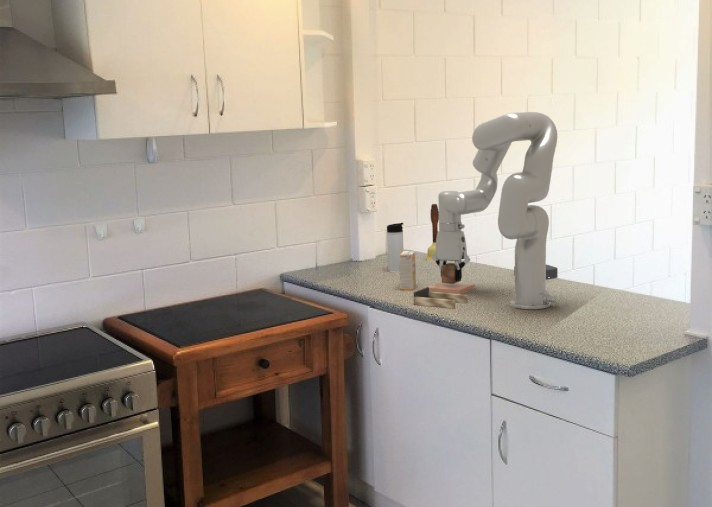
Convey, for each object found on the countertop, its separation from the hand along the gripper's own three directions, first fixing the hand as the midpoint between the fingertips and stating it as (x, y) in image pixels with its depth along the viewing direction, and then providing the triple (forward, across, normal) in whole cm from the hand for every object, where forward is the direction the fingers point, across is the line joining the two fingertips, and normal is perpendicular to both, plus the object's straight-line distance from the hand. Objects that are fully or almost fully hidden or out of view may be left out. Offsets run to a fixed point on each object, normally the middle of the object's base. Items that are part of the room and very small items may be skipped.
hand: (451, 279), depth 276 cm
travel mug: (+4, +35, -21) cm, 41 cm away
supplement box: (+4, +16, +2) cm, 17 cm away
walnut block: (+1, 0, 0) cm, 1 cm away
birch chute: (+4, -6, +18) cm, 20 cm away
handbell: (+4, +31, -46) cm, 56 cm away
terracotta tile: (+4, 0, 0) cm, 4 cm away
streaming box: (+5, -18, -32) cm, 37 cm away
